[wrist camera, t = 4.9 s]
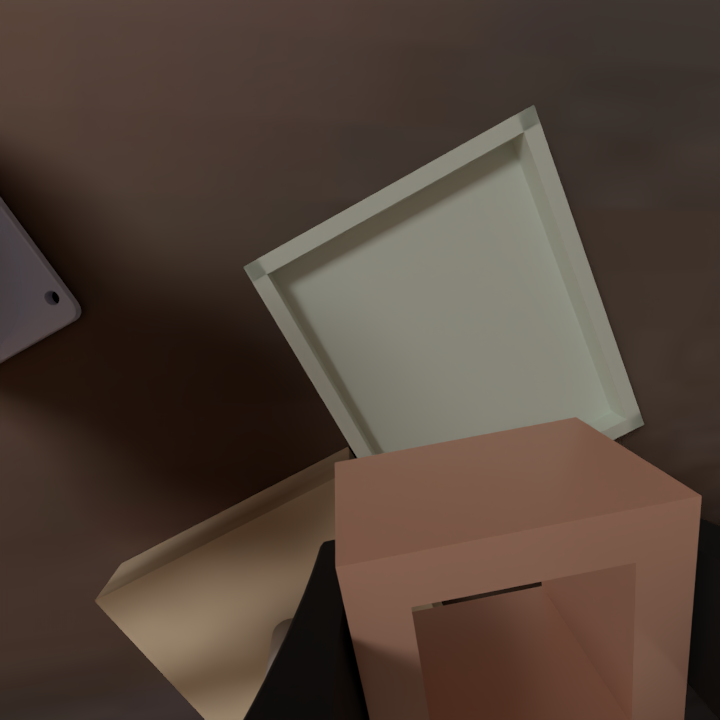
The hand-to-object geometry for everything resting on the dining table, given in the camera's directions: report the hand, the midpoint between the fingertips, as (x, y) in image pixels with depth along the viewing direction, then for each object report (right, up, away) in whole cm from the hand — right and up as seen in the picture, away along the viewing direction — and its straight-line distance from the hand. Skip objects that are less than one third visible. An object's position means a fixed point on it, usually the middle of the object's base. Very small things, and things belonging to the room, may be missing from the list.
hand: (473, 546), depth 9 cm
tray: (+1, +5, +7) cm, 9 cm away
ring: (0, 0, 0) cm, 0 cm away
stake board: (-6, -7, +10) cm, 13 cm away
